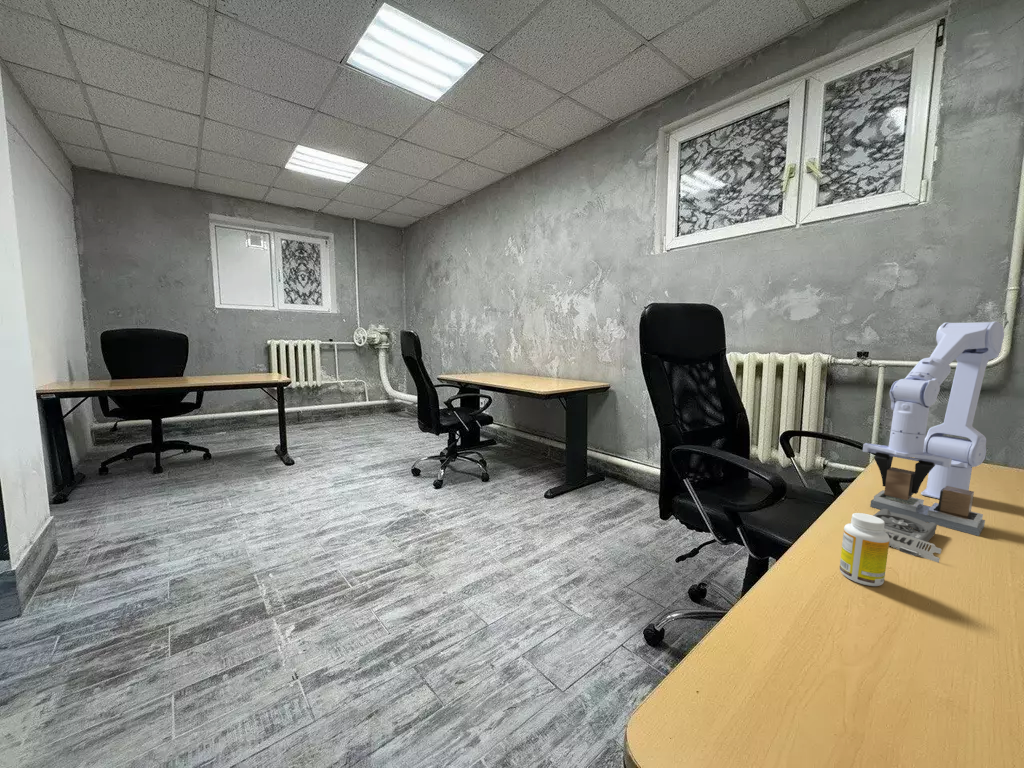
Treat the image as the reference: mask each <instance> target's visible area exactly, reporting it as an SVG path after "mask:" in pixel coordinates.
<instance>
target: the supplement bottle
mask: <svg viewBox="0 0 1024 768" xmlns="http://www.w3.org/2000/svg"><path fill="white" fill-rule="evenodd" d="M884 524H885V522H884V521H883V520H882V519H880V518H878V517H875V516H873V515H872V514H868V513H862V512H855V513H854V512H853V513H852V515H851V520H850V523H846V524H845V525H844V527H843V534H842V543H841V551H840V561H839V571H840V573H841V574H842V575H843V576H844V577H845V578H847V579H848V580H851V581H853V582H855V583H858V584H861V585H864V586H869V587H878V586H879V587H880V586H882V585H883V584H884V582H885V576H886V569H887V563H888V562H887V561H888V554H889V548H890V547H889V536H888V534H887V533H886V532H884Z"/></svg>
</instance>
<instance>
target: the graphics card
mask: <svg viewBox="0 0 1024 768" xmlns="http://www.w3.org/2000/svg"><path fill="white" fill-rule="evenodd" d="M872 516H875V517H878V518H880V519H882V520H883V521H884V522H885V524H884V532H886V533H887V534H888V536H889V546H891V547H890V548H892V547H893V548H892V549H895V548H896V550H897V551H898V550H899V552H902V553H905V554H908V555H911V556H913V557H920V558H922V559H927V560H929V561H932V562H935V563H940V560H941V559H940V557H938V556H935V555H934V553H936V554H939V555H941V554H942V548H940V547H937V546H936V545H935V544H934V543H931V542H930V540H932V538H933V537H934V535H935V534H936V530H937V528H938V527H937V526H938V525H937V524H936V523H933V522H931V523H928V522H925V521H922V520H919V519H916V518H913V517H911V516H907V515H902V514H898V513H893V512H889V510H888V509H882V510H880V509H879V511H877V512H876V513H874V514H873V515H872ZM929 548H930V549H929Z"/></svg>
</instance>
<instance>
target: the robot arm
mask: <svg viewBox="0 0 1024 768" xmlns="http://www.w3.org/2000/svg"><path fill="white" fill-rule="evenodd" d="M1004 331H1005V330H1004V326H1003V324H1001V323H1000V321H995V320H994V321H984V322H983V321H982V322H981V321H978V322H976V321H975V322H974V321H973V322H972V321H971V322H948V321H947V322H943V323H942V324H941V325H940V326H939V327H938V329H937V330H936V335H935V336H936V337H935V339H936V344H937V345H936V347H935V348H933V351H932V353H931V354H930V356H929V357H924V358H922V359H920V360H919V361H918V362H917V364H915V366H914V367H913V368H912V369H911V370H910V372H908V374H907V375H906V377H905V378H900V379H898V380H895V381H893V383H892V385H891V387H890V390H889V399H890V409H891V410H892V411H893V412H892V419H891V425H890V434H889V442H888V445H882V444H876V443H867V442H865V443H863V445H862V446H863V447H862V452H863V453H871V454H875V455H874V457H873V459H874V461H875V463H876V465H877V467H878V470H879V473H880V477H881V480H882V481H881V482H882V487H885V484H886V476H887V470H888V469H890V468H891V467H892V464H893V459H894V458H899V459H904V460H909V461H915V465H914V472H915V478H914V483H913V487H912V493H914V494H915V495H917V494H918V493H919V490H920V487H921V485H922V483H923V482H924V480H925V479H926V477H927V481H926V488H925V489H924V490H923V491H921V492H920V495H922V496H924V497H930V498H935V499H938V500H939V498H940V492H941V490H942V489H943V488H945V487H946V486H950V487H955V488H959V489H964V490H969V489H970V484H971V477H972V470H973V468H975V467H978V466H980V465H982V464H983V462H984V460H985V459H986V455H987V447H986V445H987V438H986V436H985V435H984V434H983V433H981V432H980V431H979V430H977V429H976V428H975V427H974V426H973V424H974V421H975V414H976V411H977V407H978V403H979V399H980V395H981V394H980V393H981V389H982V385H983V381H984V377H985V373H986V369H987V366H988V363H989V361H990V360H994V359H996V358H998V357H999V355H1000V353H1001V352H1002V351H1001V349H1002V347H1003V343H1004V337H1005V332H1004ZM954 361H956V367H955V370H954V371H955V372H954V376H953V381H952V385H951V389H950V393H949V398H948V402H947V405H946V410H945V416H944V419H943V422H942V423H939V424H937V425H934V426H931V427H930V428H929V429H927V427H928V426H927V425H928V420H929V412H930V407H932V406H933V405H934V404H935V403H936V402H937V399H938V395H939V393H940V391H941V387H940V386H941V385H942V384H943V382H944V381H945V380H946V379H947V378H948V376H949V375H950V373H951V371H952V367H951V365H950V364H951V363H953V362H954ZM948 435H951V436H948ZM953 436H956V437H953ZM959 437H963V438H959ZM966 438H967V439H966ZM969 491H970V490H969ZM914 494H913V495H914Z"/></svg>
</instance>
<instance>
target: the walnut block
mask: <svg viewBox="0 0 1024 768" xmlns="http://www.w3.org/2000/svg"><path fill="white" fill-rule="evenodd" d="M914 478H915V470H914V471H912V470H909V469H904V468H900V467H893V466H891V468H890V469H888V470H887V476H886V484H885V486H884V495H887V496H891V497H895V498H899V499H903V500H909V499H910V498H911V497H913V496H912V495H914V493H912V487H913V483H914Z"/></svg>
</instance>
